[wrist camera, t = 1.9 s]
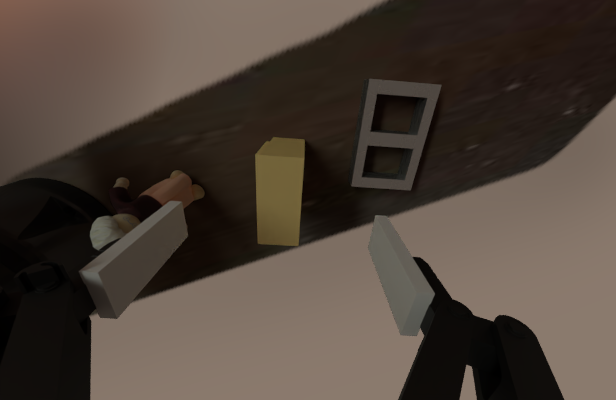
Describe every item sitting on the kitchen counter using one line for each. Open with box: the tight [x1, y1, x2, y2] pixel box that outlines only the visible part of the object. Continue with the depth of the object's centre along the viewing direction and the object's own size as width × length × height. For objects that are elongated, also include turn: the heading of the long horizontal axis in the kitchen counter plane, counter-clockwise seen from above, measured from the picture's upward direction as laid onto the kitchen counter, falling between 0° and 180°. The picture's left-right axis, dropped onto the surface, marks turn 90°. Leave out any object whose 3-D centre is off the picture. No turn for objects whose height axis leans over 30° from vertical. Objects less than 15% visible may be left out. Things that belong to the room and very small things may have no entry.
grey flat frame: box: [348, 79, 441, 190], centre depth 25 cm, size 7×11×2 cm, turn 176°
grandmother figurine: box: [90, 170, 205, 250], centre depth 22 cm, size 8×4×13 cm, turn 52°
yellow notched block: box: [255, 137, 305, 246], centre depth 23 cm, size 4×8×10 cm, turn 176°
